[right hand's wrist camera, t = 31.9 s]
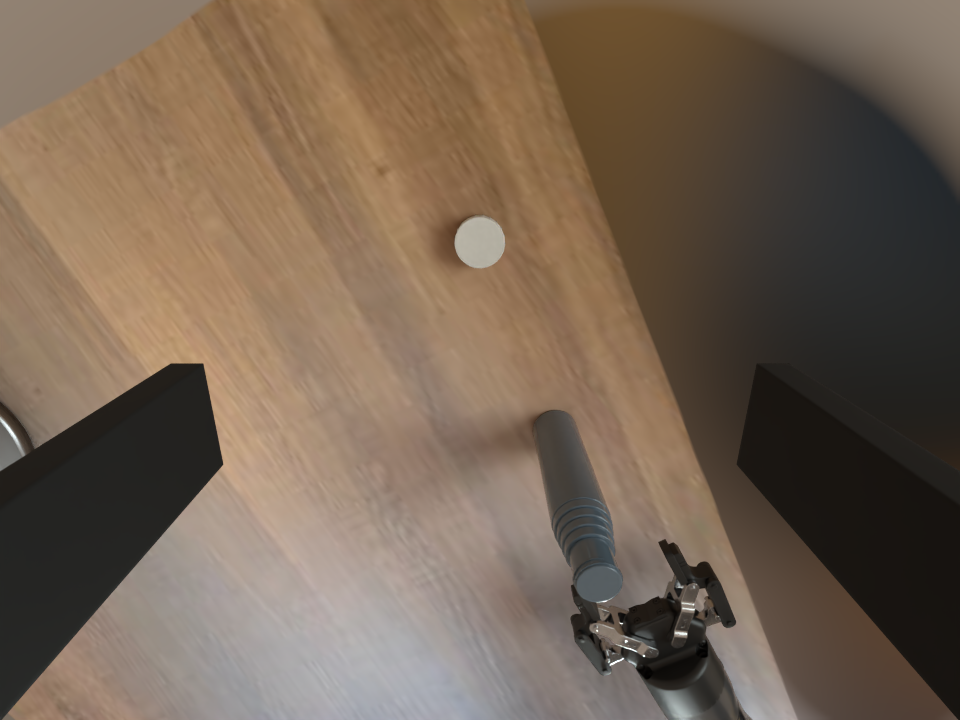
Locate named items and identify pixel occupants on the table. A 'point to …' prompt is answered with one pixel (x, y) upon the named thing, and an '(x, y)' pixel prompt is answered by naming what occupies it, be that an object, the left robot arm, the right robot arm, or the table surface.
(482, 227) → the cap
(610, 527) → the bottle
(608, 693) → the table surface
